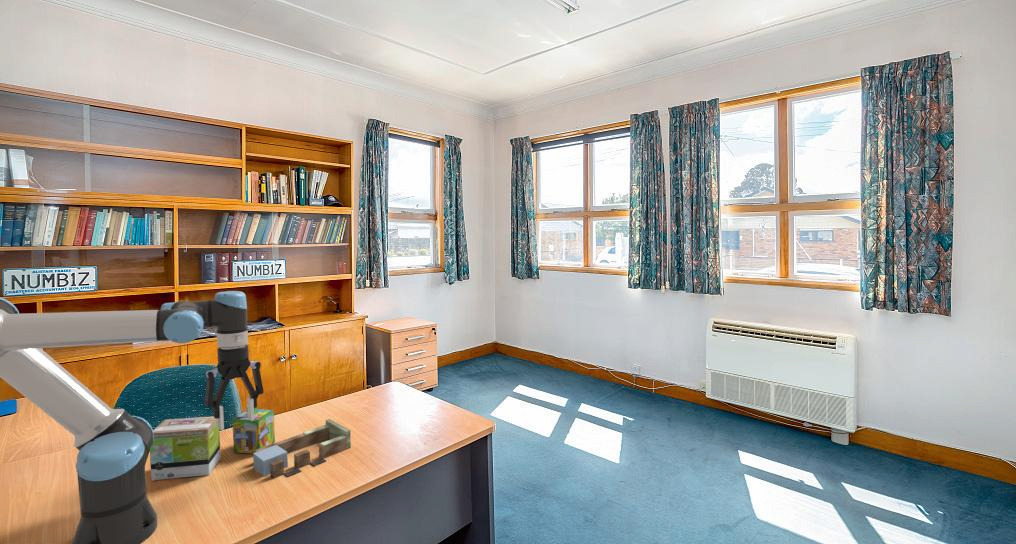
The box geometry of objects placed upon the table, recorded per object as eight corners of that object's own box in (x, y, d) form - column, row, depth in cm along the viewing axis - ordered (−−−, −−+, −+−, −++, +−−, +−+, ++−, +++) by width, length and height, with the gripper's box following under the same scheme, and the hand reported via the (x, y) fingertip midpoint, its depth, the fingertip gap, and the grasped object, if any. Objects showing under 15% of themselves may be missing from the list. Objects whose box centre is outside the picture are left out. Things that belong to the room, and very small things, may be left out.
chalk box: (259, 455, 145) (257, 410, 144) (232, 453, 146) (230, 409, 144) (276, 441, 154) (274, 400, 153) (250, 440, 155) (249, 398, 154)
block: (264, 477, 133) (263, 460, 133) (253, 468, 137) (253, 453, 137) (287, 467, 139) (287, 451, 138) (277, 459, 143) (276, 444, 142)
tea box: (150, 482, 129) (147, 433, 127) (166, 464, 138) (163, 418, 137) (209, 475, 133) (207, 428, 131) (221, 458, 142) (219, 414, 141)
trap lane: (277, 481, 130) (276, 461, 130) (254, 462, 141) (254, 444, 140) (354, 449, 150) (354, 432, 149) (329, 435, 160) (329, 418, 159)
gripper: (195, 355, 117) (199, 440, 119) (275, 341, 132) (277, 416, 135) (186, 350, 122) (190, 431, 124) (264, 337, 137) (267, 409, 139)
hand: (236, 423), depth 129 cm, fingers open, 7 cm apart
